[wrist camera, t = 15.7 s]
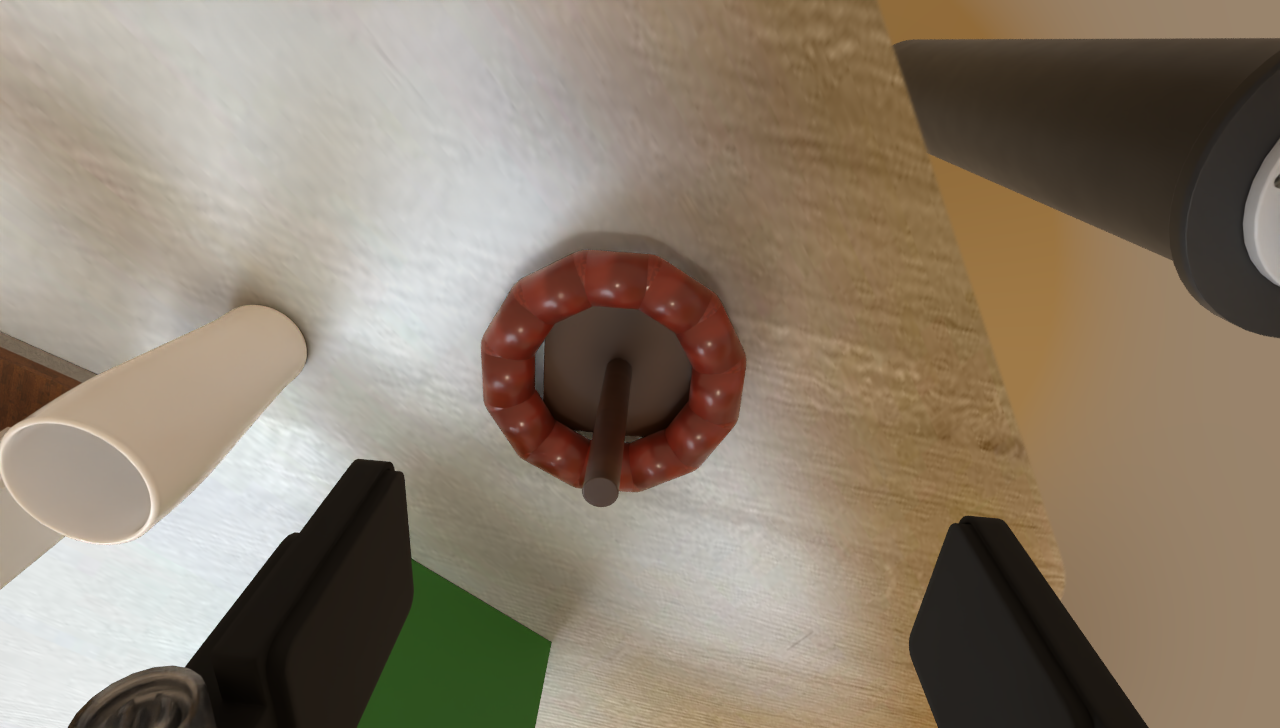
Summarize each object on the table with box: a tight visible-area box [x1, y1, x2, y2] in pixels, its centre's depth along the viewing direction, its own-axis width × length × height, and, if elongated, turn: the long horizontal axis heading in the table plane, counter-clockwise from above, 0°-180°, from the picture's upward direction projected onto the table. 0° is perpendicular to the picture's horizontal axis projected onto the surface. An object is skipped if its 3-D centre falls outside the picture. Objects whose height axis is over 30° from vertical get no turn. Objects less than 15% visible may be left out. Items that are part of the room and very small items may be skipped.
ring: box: [481, 250, 746, 492], centre depth 39 cm, size 15×15×3 cm
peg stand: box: [543, 306, 692, 507], centre depth 35 cm, size 9×9×14 cm
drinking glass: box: [0, 305, 307, 545], centre depth 35 cm, size 7×7×15 cm
